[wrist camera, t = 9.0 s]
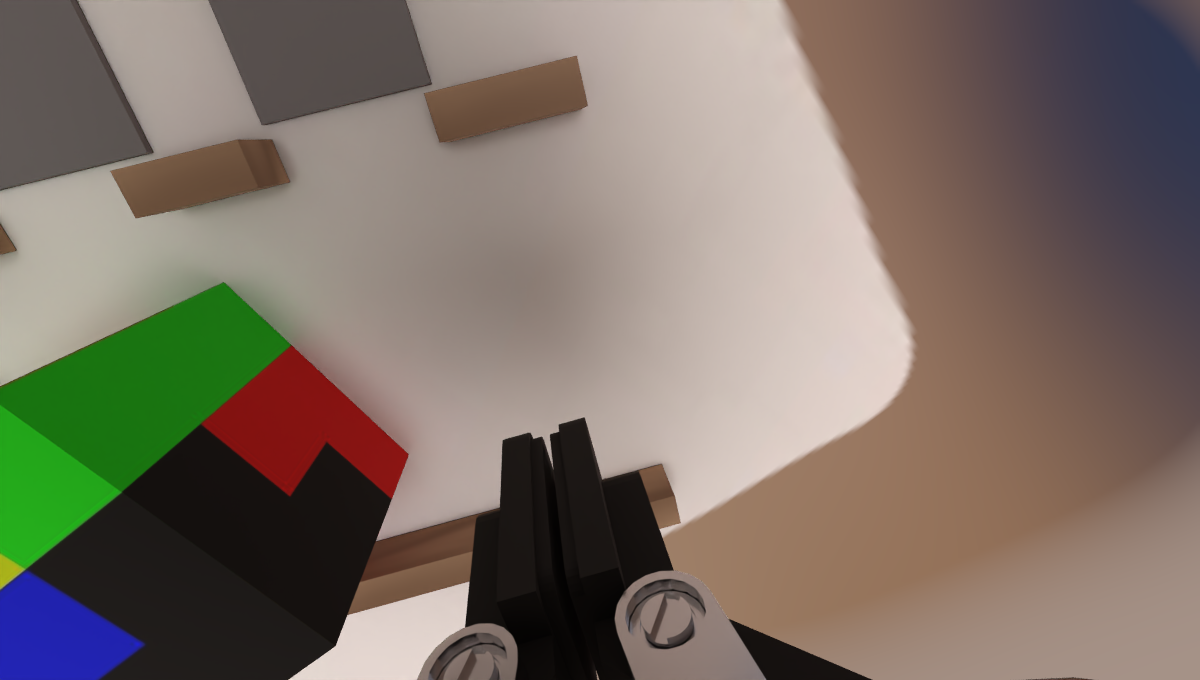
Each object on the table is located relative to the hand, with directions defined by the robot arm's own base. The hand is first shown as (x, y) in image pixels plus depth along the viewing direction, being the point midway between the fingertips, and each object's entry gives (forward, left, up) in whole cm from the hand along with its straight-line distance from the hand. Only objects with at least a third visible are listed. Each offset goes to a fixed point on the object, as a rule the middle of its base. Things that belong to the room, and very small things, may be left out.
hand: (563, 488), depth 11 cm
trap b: (-13, -5, -13) cm, 19 cm away
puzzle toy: (+2, -14, -13) cm, 19 cm away
